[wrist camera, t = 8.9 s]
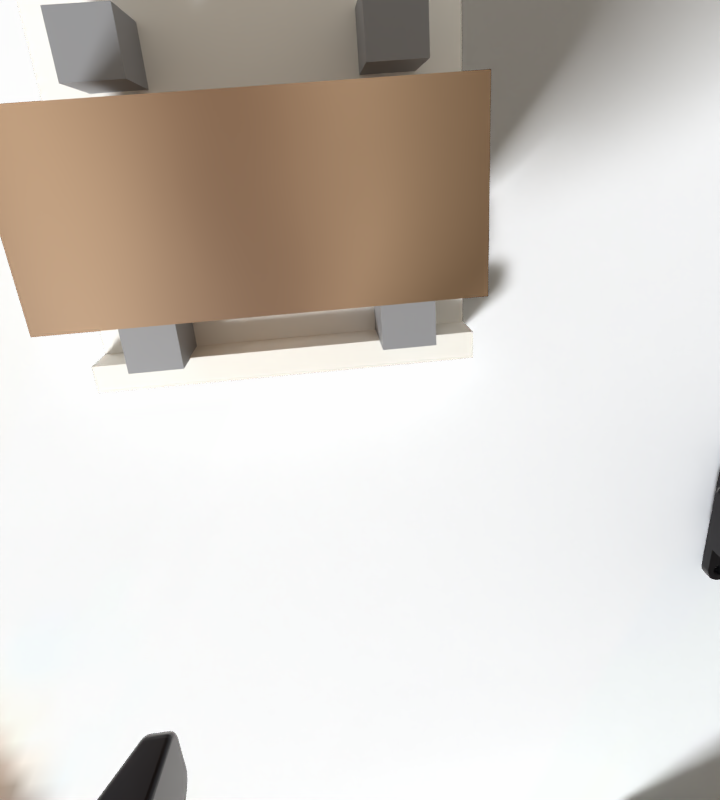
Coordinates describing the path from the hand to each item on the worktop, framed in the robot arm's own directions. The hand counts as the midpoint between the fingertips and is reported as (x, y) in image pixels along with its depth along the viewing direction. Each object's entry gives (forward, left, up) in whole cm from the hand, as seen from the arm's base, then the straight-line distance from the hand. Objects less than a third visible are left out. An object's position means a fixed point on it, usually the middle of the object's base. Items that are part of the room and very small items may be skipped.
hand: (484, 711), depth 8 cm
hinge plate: (+3, -7, -12) cm, 15 cm away
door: (+3, -7, -11) cm, 14 cm away
